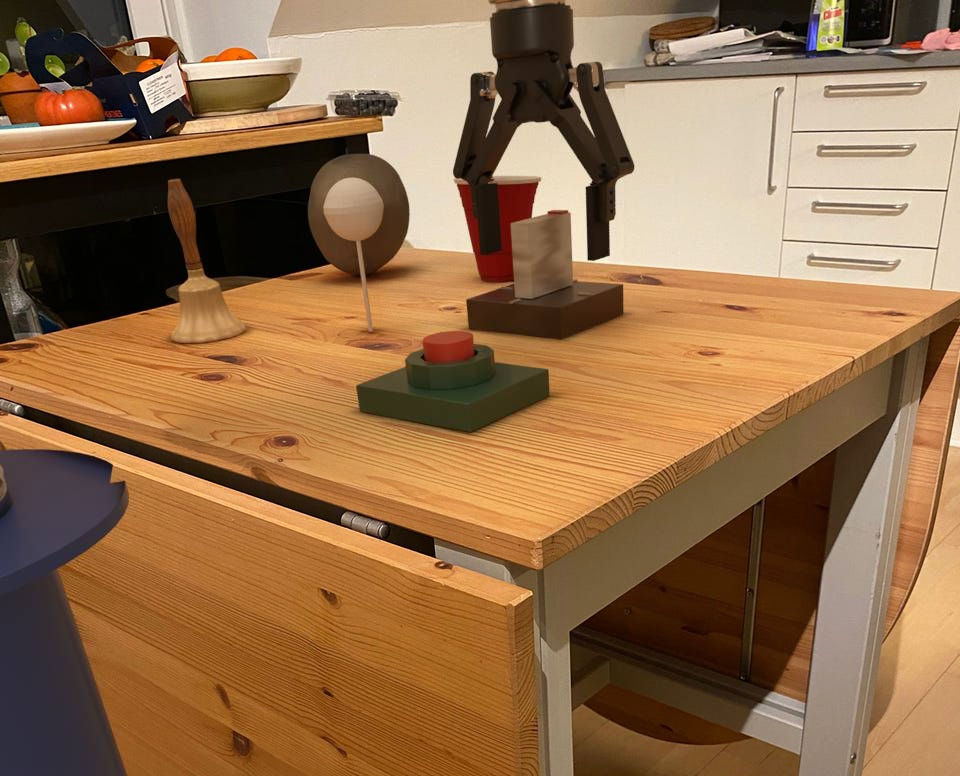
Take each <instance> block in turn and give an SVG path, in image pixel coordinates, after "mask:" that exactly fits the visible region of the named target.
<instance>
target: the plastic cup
mask: <svg viewBox="0 0 960 776" xmlns="http://www.w3.org/2000/svg"><path fill="white" fill-rule="evenodd" d="M492 177H493V178H492V179H495V180H494V181H492V182H488V184H490V183H498V196H499V211H500V225H501V240H502V251H499V252H495V253H492V254H488V255H480V245H479V232H478V219H474V216H473V212H472V199H471V188H470V185H469V184H468V182H467V181H465V180H463V179H461V178H460V179H456V178H455V177H454V178H453V182H454V184H456V187H457V190H458V193H459V198H460V200H461V206H462V208H463V211H464V217H465V221H466V226H467V230H468V235H469V240H470V243H471V248H472V252H473V254H474V258H475V261H476V262H475V263H476V266H477V272H478V275H479V278H480V280H481V281H482V282H491V283H493V282H494V283H495V282H496V283H497V282H498V283H499V282H509V281H514V270H513V254H512V238H511V223H514V222H518V221H522V220H525V219H529V218H533V209H534V204H535V199H536V195H537V190H538V186H539V183H540V182H542V178H543V177H542V176H535V175H493V176H492Z"/></svg>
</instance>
